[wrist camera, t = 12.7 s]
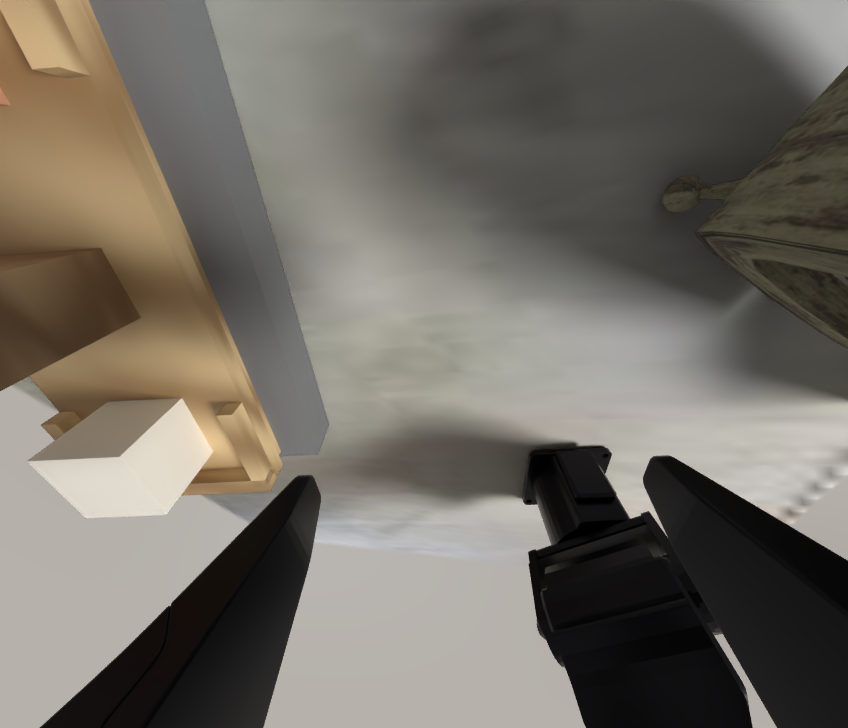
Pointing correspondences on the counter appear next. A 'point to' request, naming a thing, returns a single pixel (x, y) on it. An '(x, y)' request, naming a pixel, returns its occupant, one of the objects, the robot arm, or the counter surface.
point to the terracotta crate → (3, 99)
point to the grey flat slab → (217, 199)
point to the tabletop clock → (788, 216)
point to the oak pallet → (107, 254)
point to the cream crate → (126, 458)
